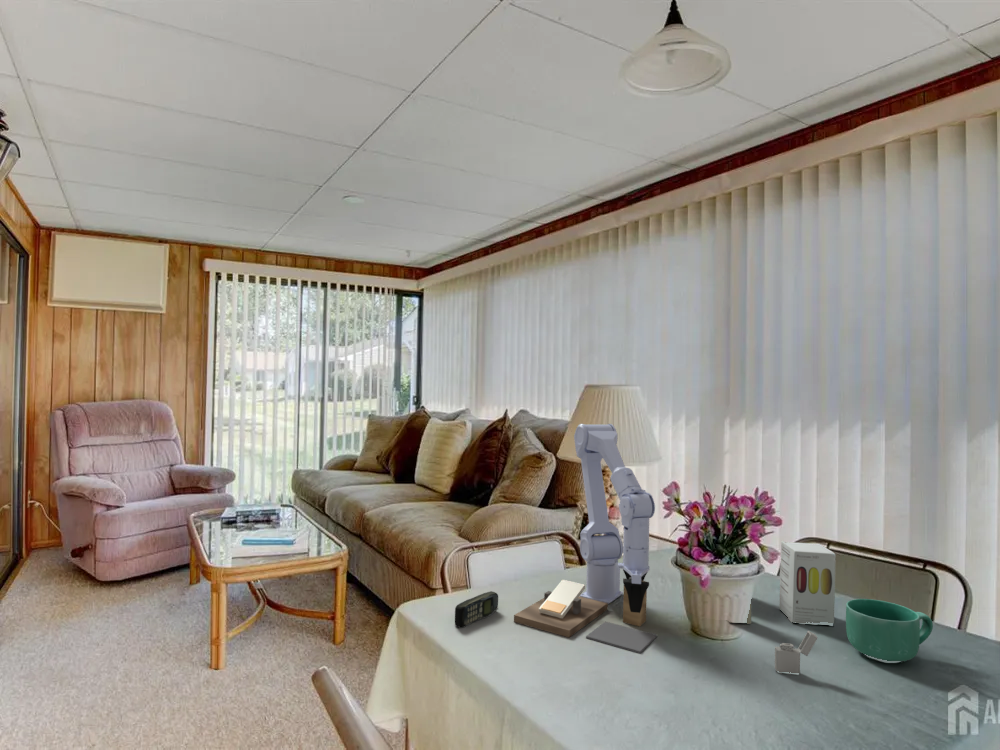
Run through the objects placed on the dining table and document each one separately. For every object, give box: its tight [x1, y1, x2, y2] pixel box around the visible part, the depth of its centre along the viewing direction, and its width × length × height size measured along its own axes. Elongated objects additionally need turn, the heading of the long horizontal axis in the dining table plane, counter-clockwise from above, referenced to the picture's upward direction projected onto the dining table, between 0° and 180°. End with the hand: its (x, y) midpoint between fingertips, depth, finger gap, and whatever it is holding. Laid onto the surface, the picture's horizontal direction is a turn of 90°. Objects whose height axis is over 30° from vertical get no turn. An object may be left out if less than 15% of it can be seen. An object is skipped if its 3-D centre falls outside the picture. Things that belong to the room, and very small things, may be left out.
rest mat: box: [585, 621, 658, 654], centre depth 128 cm, size 10×12×1 cm
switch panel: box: [513, 590, 609, 638], centre depth 139 cm, size 20×14×4 cm
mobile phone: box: [454, 591, 499, 628], centre depth 137 cm, size 5×3×15 cm
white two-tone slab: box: [539, 579, 586, 619], centre depth 139 cm, size 12×6×1 cm, turn 146°
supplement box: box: [778, 541, 837, 624], centre depth 141 cm, size 10×9×17 cm
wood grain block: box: [622, 577, 648, 627], centre depth 136 cm, size 4×4×10 cm
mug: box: [845, 598, 934, 662], centre depth 121 cm, size 17×13×10 cm
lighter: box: [774, 630, 819, 674], centre depth 113 cm, size 7×2×8 cm, turn 78°
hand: (635, 605), depth 136 cm, fingers open, 7 cm apart
